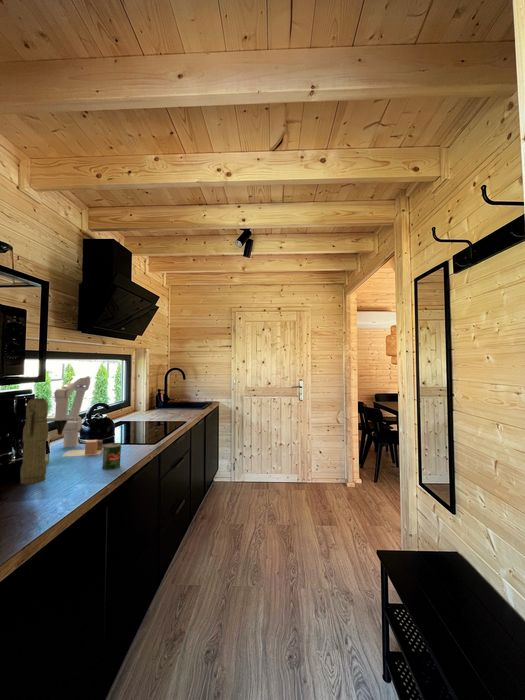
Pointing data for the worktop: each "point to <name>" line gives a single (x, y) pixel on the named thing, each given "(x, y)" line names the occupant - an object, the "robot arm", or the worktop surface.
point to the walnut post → (99, 445)
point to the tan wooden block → (91, 446)
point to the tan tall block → (35, 442)
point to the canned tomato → (111, 456)
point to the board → (79, 453)
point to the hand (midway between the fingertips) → (59, 434)
